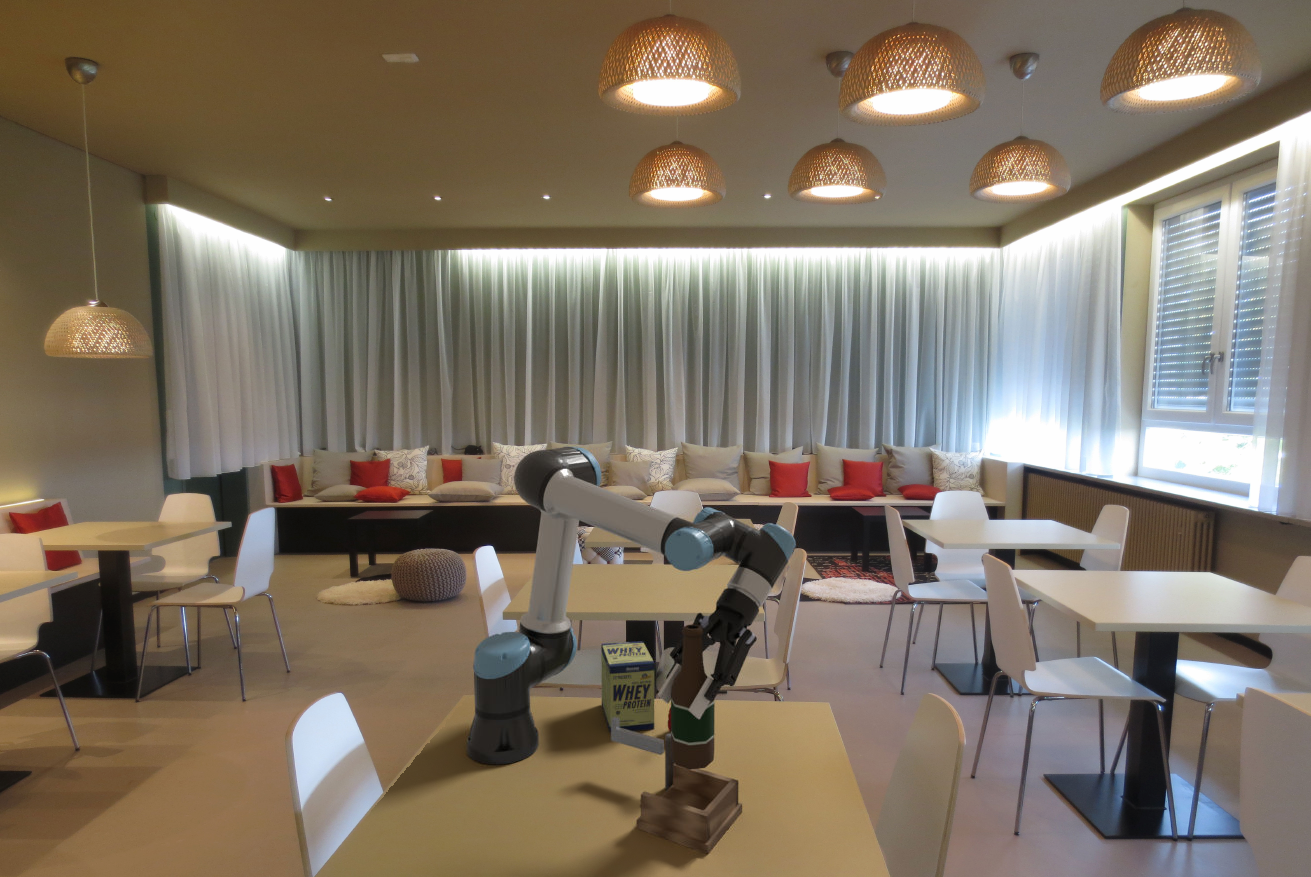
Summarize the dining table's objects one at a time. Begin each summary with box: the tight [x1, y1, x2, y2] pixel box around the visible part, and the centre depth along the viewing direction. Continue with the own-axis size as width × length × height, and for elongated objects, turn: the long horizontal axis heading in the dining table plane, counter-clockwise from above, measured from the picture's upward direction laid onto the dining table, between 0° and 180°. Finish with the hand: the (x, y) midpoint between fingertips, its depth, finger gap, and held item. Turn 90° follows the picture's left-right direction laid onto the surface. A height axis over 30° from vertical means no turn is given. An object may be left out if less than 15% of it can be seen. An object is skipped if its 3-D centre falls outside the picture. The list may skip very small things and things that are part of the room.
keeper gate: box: [610, 716, 665, 756], centre depth 141 cm, size 12×1×4 cm, turn 60°
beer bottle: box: [670, 623, 716, 770], centre depth 127 cm, size 8×8×24 cm
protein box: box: [600, 641, 655, 734], centre depth 169 cm, size 10×16×16 cm
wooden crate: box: [635, 732, 743, 855], centre depth 129 cm, size 16×15×10 cm
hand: (678, 706), depth 124 cm, fingers closed on beer bottle, 7 cm apart
